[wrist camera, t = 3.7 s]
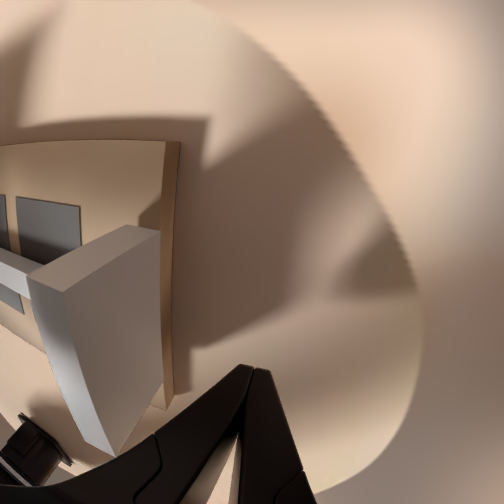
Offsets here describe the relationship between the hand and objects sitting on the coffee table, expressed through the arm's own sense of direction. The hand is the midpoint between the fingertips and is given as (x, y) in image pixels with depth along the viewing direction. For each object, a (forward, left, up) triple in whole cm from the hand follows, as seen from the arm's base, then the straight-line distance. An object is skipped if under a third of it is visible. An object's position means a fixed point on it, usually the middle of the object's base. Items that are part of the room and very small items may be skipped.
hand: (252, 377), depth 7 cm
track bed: (0, +16, -3) cm, 17 cm away
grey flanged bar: (0, +13, -1) cm, 14 cm away
